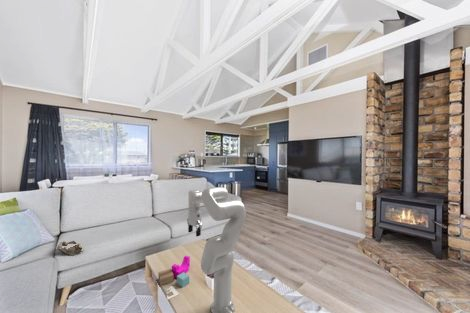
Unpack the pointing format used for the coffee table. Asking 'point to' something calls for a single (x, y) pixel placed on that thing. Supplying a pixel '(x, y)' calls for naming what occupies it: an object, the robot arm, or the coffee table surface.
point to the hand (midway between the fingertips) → (194, 233)
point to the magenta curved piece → (181, 267)
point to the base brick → (165, 277)
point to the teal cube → (183, 279)
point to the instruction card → (171, 292)
